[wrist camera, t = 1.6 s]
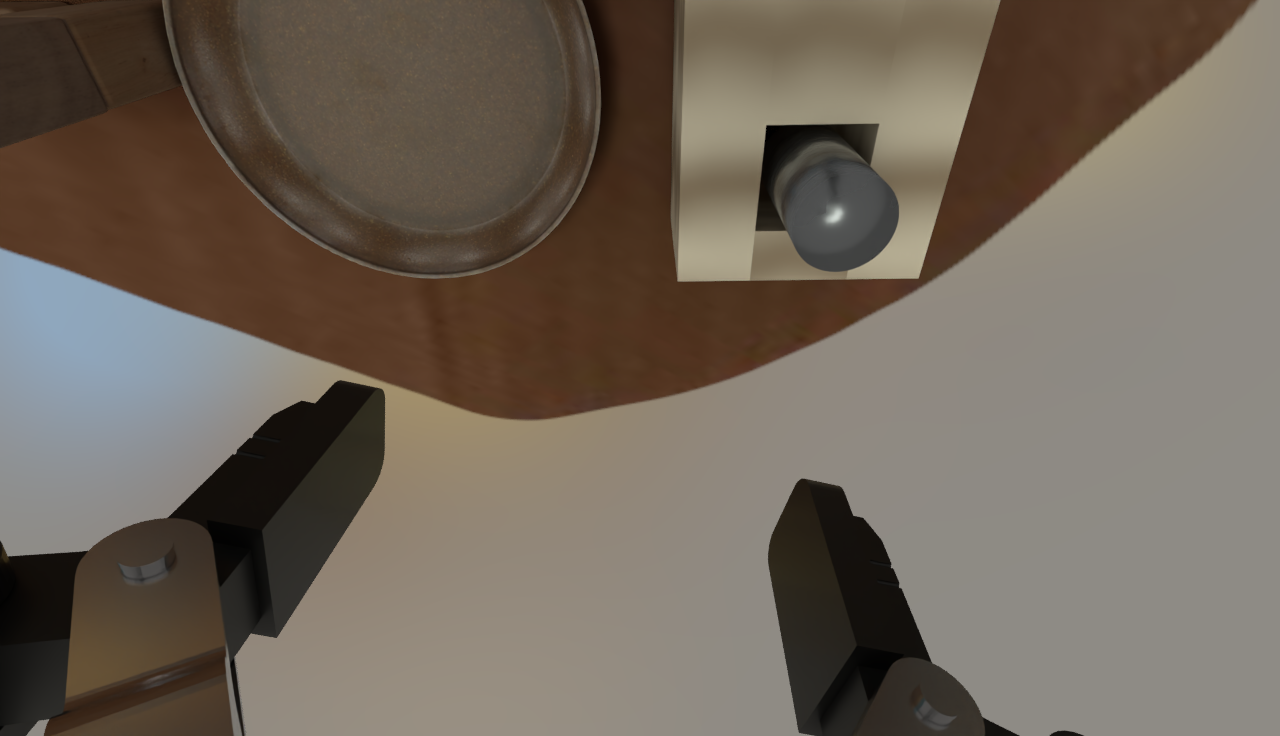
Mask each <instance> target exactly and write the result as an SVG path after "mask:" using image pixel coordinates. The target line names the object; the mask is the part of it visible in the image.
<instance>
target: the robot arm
mask: <svg viewBox="0 0 1280 736" xmlns="http://www.w3.org/2000/svg"><path fill="white" fill-rule="evenodd" d="M384 449H385V395H384V391H383V390H382V389H380V388H375V387H370V386H366V385H360V384H356V383H351V382H346V381H341V380H340V381H337V382H336V383H334V385H332V386H331V388H329V390H328V391H327V392H326V393H325V394H324V395H323V396H322V397H321V398H320V399H319V400H318V401H317V402H316V403H310V402H305V401H300V402H298V403H296V404H294V405H292V406H290V407H288V408H286V409H284V410H282V411H280V412H278V413H276V414H274V415H272V416H271V417H270V418H269V419H268V420H267V421H266V422H265V423H264V424H263V425H262V426H261V427H260V428H259V429H258V430H257V431H256V432H255V433H254V434H253V437H252V438H249V439H248V440H247V441H246V442H245V443H244V444H243V445H242V446H241V447H240V448H239V449H238V450H237V453H236V454H235V455H233V454H232V455H231V456H230V458H228V459H227V460H226V461H225V462H224V463H223V464H222V465H221V466H220V467H219V468H218V469H217V470H216V471H215V472H214V473H213V474H212V475H211V476H210V477H209V478H208V479H207V480H206V481H205V482H204V483H203V484H202V485H201V486H200V487H199V488H198V489H197V490H196V491H195V492H194V493H193V494H192V495H191V496H190V497H189V498H188V499H187V500H186V501H185V502H184V503H182V504H181V506H179V507H178V508H177V510H175V511H174V512H173V513H172V514H171V515H170V516H169V517H168V518H164V519H154V520H149V521H144V522H140V523H137V524H133V525H131V526H128V527H126V528H123V529H121V530H119V531H116V532H114V533H112V534H111V535H109V536H107V537H106V538H104V539H103V540H101V541H100V542H98V543H97V544H96V545H94V546H93V547H92V548H91V549H90V550H89V551H83V552H70V553H55V554H39V555H23V556H9V557H8V556H7V554H6V552H5V549H4V547H3V545H2V543H1V541H0V736H26V735H27V734H28V732H29V731H30V730H31V729H32V728H33V726H34V725H35V724H36V723H37V722H38V721H39V720H46V719H49V721H48V723H47V726H46V729H45V733H44V736H246V731H245V724H244V716H243V710H242V702H241V695H240V687H239V680H238V672H237V665H236V659H235V655H236V654H237V653H238V651H239V650H240V648H241V647H242V645H243V644H244V642H245V641H246V639H247V638H248V637H249V635H250V634H251V633H252V634H258V635H263V636H269V637H274V638H277V637H278V635H279V634H280V632H281V630H282V629H283V627H284V626H285V624H286V623H287V621H288V620H289V618H290V617H291V615H292V613H293V612H294V610H295V609H296V607H297V606H298V604H299V603H300V601H301V599H302V598H303V596H304V595H305V593H306V591H307V590H308V588H309V587H310V585H311V584H312V582H313V581H314V579H315V578H316V576H317V575H318V573H319V571H320V570H321V568H322V567H323V565H324V564H325V562H326V561H327V559H328V557H329V556H330V554H331V553H332V551H333V549H334V548H335V546H336V545H337V543H338V542H339V540H340V539H341V537H342V536H343V534H344V533H345V531H346V529H347V528H348V526H349V525H350V523H351V522H352V520H353V518H354V517H355V515H356V514H357V512H358V511H359V509H360V508H361V506H362V505H363V503H364V501H365V500H366V498H367V497H368V495H369V494H370V492H371V490H372V489H373V487H374V486H375V484H376V482H377V480H378V477H379V475H380V472H381V469H382V465H383V460H384V451H385V450H384ZM768 564H769V570H770V576H771V581H772V587H773V592H774V598H775V603H776V609H777V615H778V620H779V626H780V631H781V636H782V642H783V648H784V653H785V659H786V664H787V670H788V675H789V681H790V686H791V692H792V697H793V702H794V708H795V714H796V719H797V725H798V730H799V733H803V734H809V735H814V736H1019V735H1017V734H1015V733H1013V732H1011V731H1009V730H1006V729H1005V728H1003V727H1000V726H999V725H996V724H995V723H992V722H990V721H989V720H987V719H985V718H983V717H982V715H981V713H980V710H979V708H978V706H977V704H976V703H975V701H974V700H973V698H972V697H971V695H970V694H969V692H968V691H967V690H966V689H965V688H964V687H963V685H962V684H961V683H960V682H958V681H957V680H956V679H955V678H954V677H953V676H952V675H950V674H949V673H948V672H947V671H945V670H943V669H942V668H941V667H939V666H937V665H935V664H933V663H932V662H931V659H930V657H929V655H928V652H927V650H926V647H925V645H924V642H923V640H922V637H921V635H920V632H919V630H918V628H917V625H916V623H915V620H914V618H913V615H912V613H911V611H910V608H909V606H908V603H907V601H906V598H905V596H904V593H903V591H902V589H901V588H899V581H898V579H897V576H896V574H895V572H894V569H893V568H891V562H890V559H889V557H888V554H887V552H886V549H885V547H884V545H883V542H882V540H881V539H880V538H879V536H878V535H877V534H876V533H875V532H874V530H873V529H872V528H871V527H870V526H869V524H868V523H867V522H866V521H865V520H864V518H861V517H856V516H853V514H852V511H851V509H850V506H849V503H848V501H847V498H846V495H845V493H844V491H843V489H842V488H841V487H840V486H836V485H831V484H827V483H822V482H817V481H812V480H808V479H800V480H799V481H798V482H797V483H796V485H795V487H794V489H793V491H792V493H791V495H790V497H789V499H788V502H787V504H786V506H785V508H784V510H783V512H782V514H781V516H780V518H779V521H778V523H777V525H776V527H775V529H774V531H773V534H772V536H771V540H770V544H769V552H768ZM1050 736H1083V735H1081V734H1078V733H1075V732H1070V731H1057V732H1054V733H1053V734H1051V735H1050Z"/></svg>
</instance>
